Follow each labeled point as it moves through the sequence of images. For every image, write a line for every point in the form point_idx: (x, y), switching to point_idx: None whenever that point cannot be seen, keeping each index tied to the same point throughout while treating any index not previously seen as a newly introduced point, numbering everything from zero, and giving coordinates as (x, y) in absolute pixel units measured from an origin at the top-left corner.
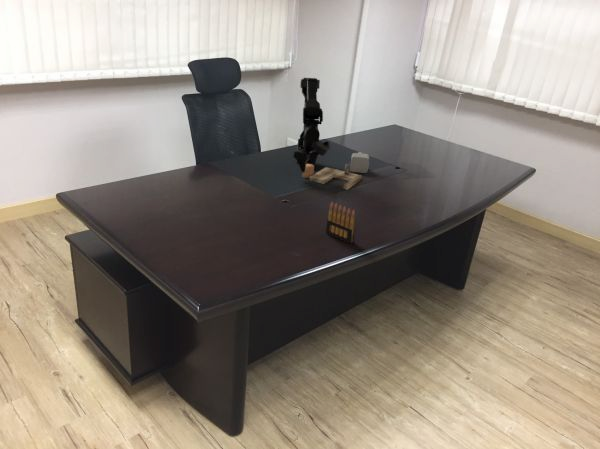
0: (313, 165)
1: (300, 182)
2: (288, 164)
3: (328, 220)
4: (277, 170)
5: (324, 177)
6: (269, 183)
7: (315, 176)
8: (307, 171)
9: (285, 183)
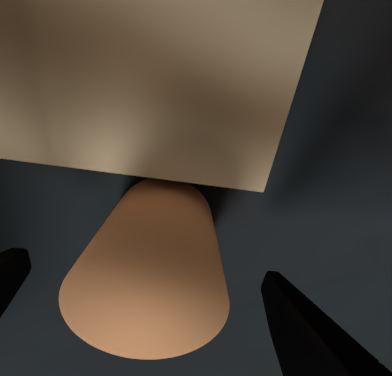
0: (84, 265)
1: (320, 223)
2: (39, 366)
3: None
4: (170, 371)
5: (208, 9)
6: (376, 341)
7: (224, 143)
8: (219, 254)
9: (361, 288)
